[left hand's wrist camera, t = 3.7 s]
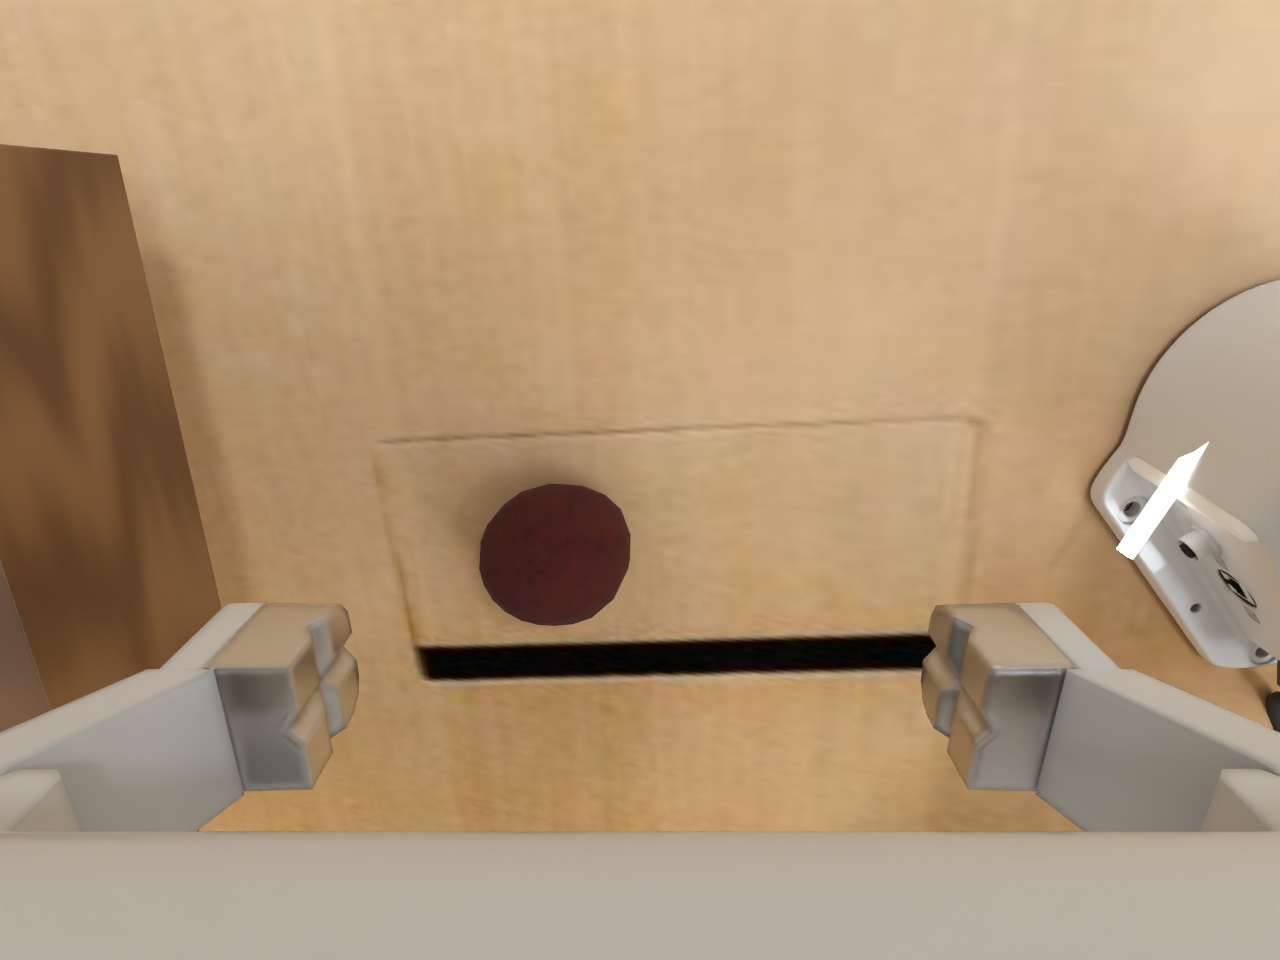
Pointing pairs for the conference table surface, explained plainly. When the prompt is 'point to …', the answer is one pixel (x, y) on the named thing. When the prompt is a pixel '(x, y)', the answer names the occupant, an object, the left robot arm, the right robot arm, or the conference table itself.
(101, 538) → the box
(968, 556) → the conference table surface
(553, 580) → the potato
